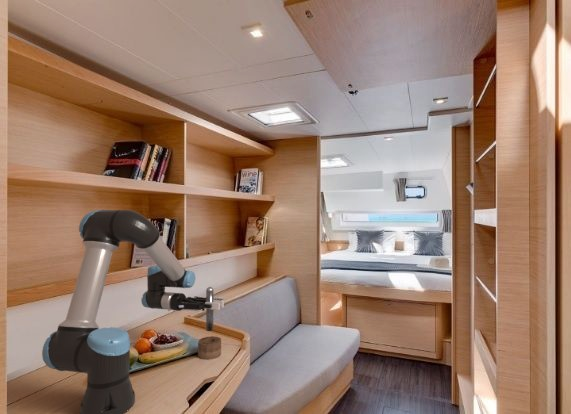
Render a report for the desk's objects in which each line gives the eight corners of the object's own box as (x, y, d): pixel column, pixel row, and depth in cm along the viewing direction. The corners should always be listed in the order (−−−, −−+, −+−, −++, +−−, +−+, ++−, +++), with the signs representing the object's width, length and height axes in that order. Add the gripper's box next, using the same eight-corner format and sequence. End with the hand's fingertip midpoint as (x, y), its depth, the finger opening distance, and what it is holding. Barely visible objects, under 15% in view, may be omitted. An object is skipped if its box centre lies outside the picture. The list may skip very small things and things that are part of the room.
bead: (214, 360, 133) (214, 346, 133) (193, 357, 136) (193, 343, 136) (224, 351, 142) (224, 337, 143) (205, 348, 145) (205, 335, 145)
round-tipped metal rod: (211, 331, 138) (211, 287, 138) (204, 330, 139) (204, 287, 139) (214, 329, 141) (214, 286, 141) (208, 328, 141) (208, 286, 142)
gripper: (184, 305, 153) (229, 308, 146) (162, 315, 137) (211, 319, 131) (184, 289, 153) (229, 292, 146) (162, 297, 138) (211, 301, 131)
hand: (221, 305), depth 138 cm, fingers closed on round-tipped metal rod, 3 cm apart
